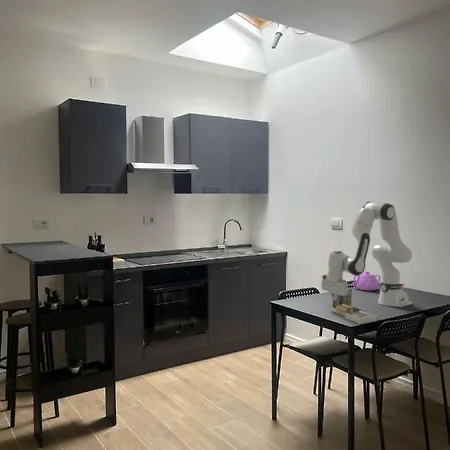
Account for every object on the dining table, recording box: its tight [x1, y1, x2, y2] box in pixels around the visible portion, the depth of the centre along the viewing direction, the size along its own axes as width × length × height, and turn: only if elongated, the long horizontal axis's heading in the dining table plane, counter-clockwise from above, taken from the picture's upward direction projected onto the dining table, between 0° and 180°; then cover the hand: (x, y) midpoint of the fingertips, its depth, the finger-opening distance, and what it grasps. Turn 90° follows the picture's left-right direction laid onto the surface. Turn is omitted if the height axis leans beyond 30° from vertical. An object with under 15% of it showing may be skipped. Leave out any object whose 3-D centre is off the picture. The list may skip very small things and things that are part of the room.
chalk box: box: [332, 288, 353, 308], centre depth 293 cm, size 9×9×15 cm
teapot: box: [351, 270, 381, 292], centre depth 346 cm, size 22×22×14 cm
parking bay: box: [344, 310, 378, 325], centre depth 263 cm, size 14×12×3 cm
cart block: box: [335, 305, 354, 317], centre depth 274 cm, size 6×8×5 cm
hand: (334, 300), depth 281 cm, fingers closed
